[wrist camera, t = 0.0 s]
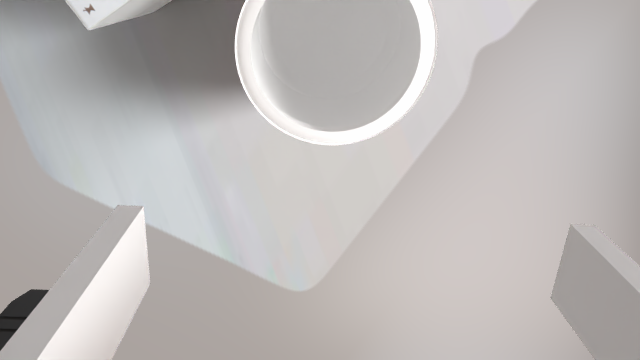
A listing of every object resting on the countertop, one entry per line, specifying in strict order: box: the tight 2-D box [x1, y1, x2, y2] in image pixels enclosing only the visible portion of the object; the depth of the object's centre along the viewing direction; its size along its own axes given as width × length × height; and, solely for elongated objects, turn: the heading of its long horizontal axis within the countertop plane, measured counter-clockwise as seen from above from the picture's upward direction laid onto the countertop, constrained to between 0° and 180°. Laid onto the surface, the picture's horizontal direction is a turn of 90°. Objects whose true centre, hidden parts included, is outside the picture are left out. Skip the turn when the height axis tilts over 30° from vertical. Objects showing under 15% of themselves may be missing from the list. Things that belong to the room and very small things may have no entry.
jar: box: [235, 0, 438, 145], centre depth 33 cm, size 11×10×15 cm
